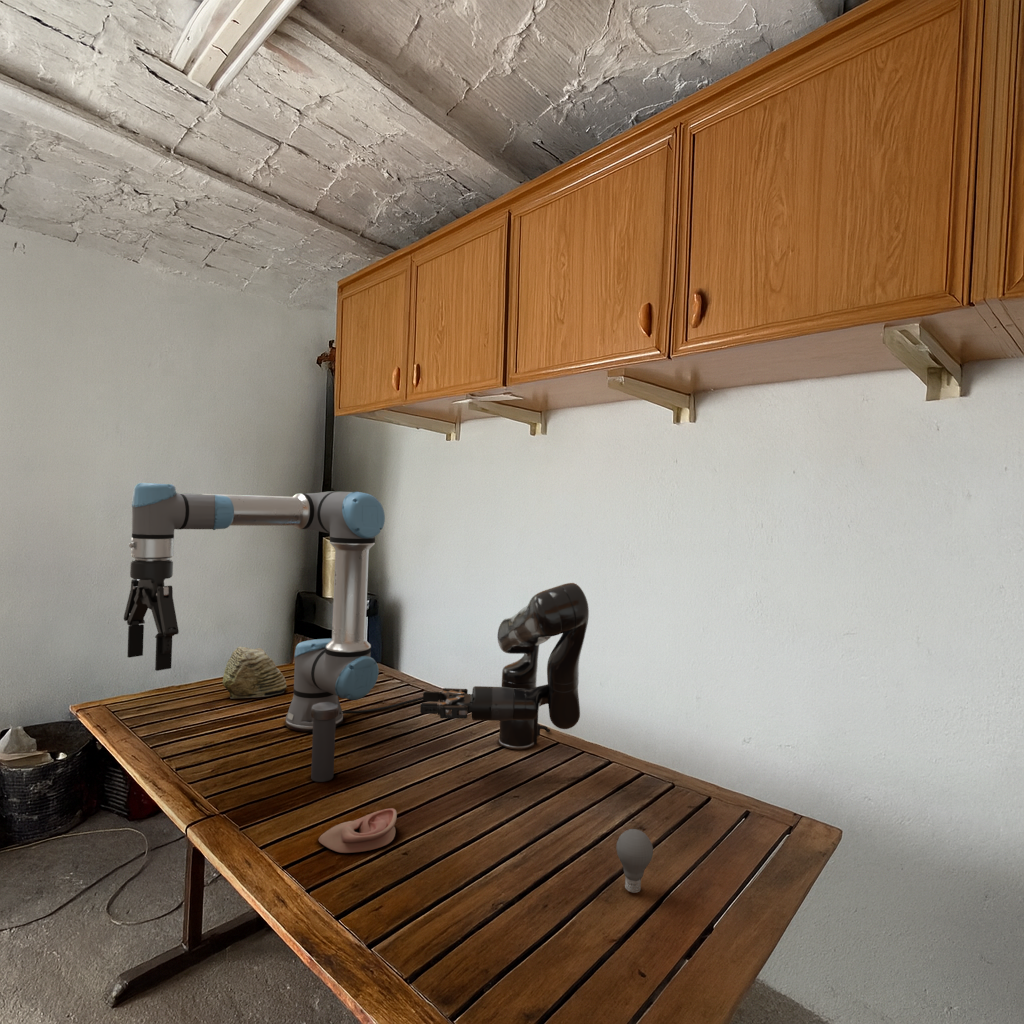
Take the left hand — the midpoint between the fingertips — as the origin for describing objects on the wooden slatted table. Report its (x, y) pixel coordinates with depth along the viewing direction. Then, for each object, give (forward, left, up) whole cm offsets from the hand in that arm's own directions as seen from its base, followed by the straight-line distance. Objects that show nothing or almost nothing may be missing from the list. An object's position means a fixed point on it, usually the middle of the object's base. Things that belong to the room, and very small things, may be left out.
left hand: (148, 662), depth 129 cm
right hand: (-46, +33, -10) cm, 57 cm away
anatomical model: (-20, +44, -28) cm, 56 cm away
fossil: (-50, -47, -28) cm, 74 cm away
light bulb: (-41, +90, -28) cm, 103 cm away
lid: (-31, +17, -12) cm, 37 cm away
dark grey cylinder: (-31, +17, -28) cm, 45 cm away
